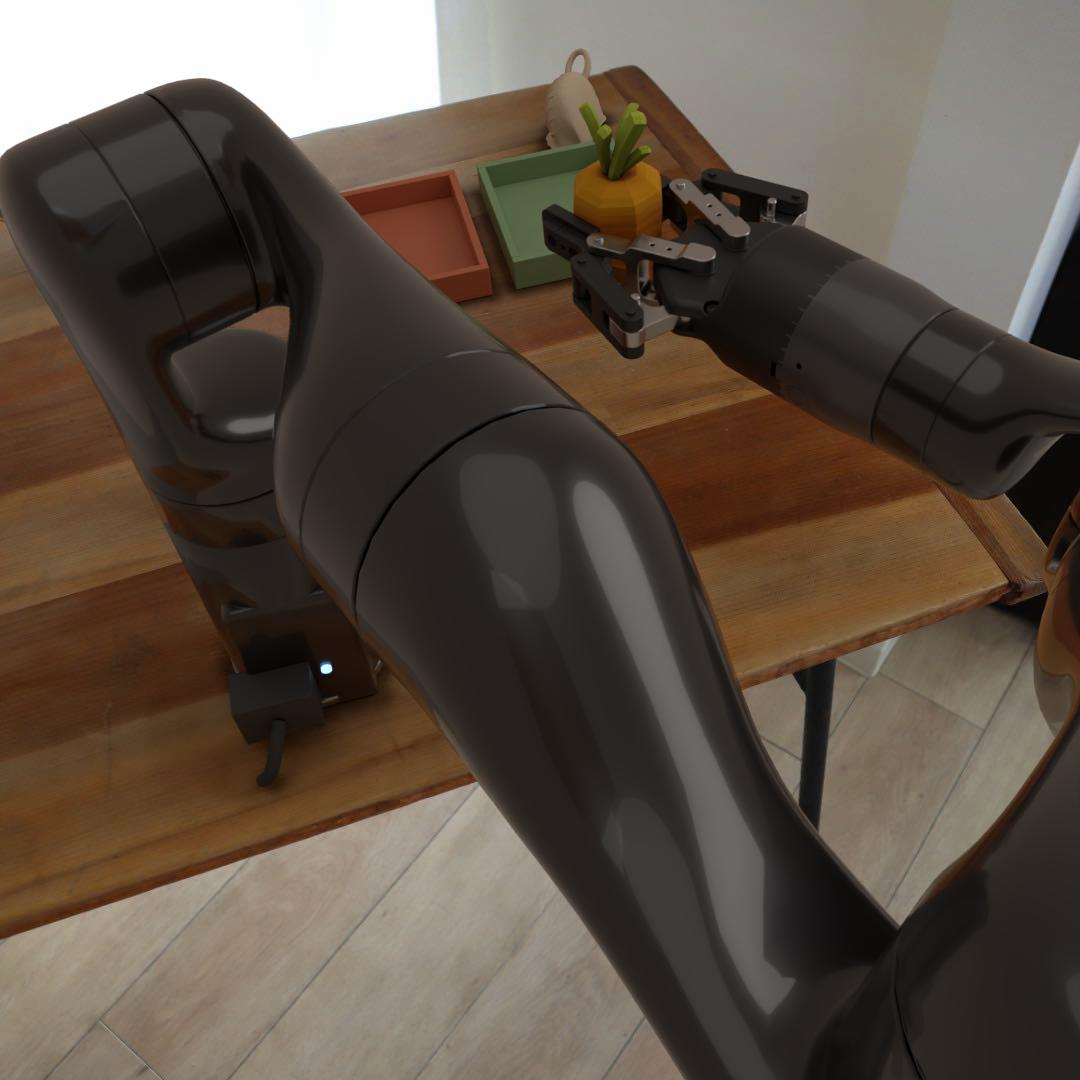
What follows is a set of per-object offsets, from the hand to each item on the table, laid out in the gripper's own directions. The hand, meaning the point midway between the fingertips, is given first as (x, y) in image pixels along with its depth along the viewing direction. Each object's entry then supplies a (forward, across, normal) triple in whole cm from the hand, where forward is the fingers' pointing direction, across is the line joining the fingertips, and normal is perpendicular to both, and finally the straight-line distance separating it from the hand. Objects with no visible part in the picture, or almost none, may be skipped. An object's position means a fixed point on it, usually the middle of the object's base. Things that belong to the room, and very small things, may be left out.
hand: (582, 200), depth 64 cm
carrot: (-3, 0, +9) cm, 9 cm away
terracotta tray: (+24, -4, +18) cm, 30 cm away
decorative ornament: (+26, -24, +18) cm, 40 cm away
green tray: (+18, -14, +18) cm, 29 cm away
